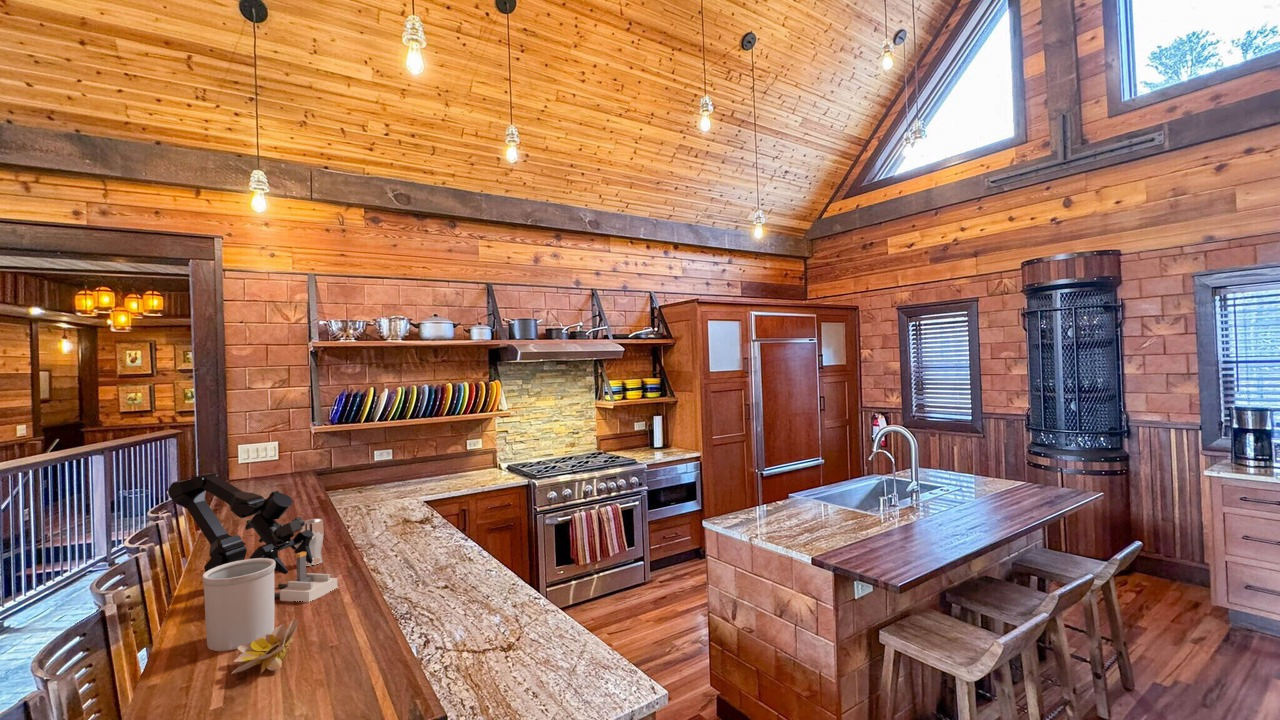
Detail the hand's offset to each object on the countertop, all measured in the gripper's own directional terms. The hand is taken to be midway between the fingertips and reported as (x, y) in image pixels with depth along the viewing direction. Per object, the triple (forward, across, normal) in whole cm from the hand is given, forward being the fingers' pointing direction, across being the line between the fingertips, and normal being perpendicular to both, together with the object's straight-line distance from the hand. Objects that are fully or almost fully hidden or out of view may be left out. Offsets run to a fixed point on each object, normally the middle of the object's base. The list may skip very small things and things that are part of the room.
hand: (299, 567), depth 166 cm
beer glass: (-7, +24, +18) cm, 31 cm away
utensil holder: (+12, -27, 0) cm, 30 cm away
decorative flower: (+24, -37, -13) cm, 46 cm away
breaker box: (+5, 0, +6) cm, 8 cm away
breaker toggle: (+4, 0, +3) cm, 4 cm away
